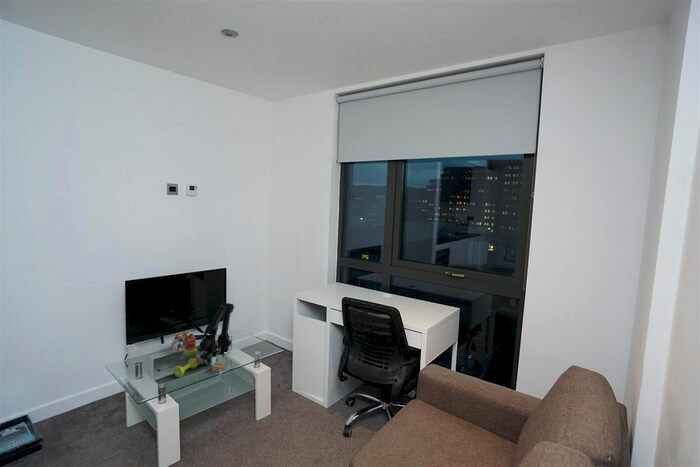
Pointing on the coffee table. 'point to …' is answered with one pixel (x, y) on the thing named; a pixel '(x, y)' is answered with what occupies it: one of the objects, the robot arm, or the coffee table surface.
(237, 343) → the coffee table surface
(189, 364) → the dumbbell
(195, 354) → the stacking bear
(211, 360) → the teal brick
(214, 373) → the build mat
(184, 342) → the doll family
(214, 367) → the walnut brick
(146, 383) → the coffee table surface
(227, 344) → the robot arm
